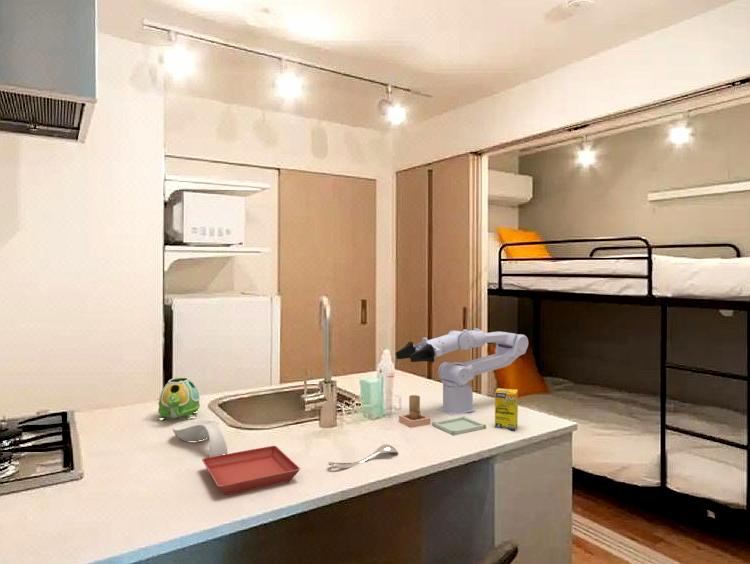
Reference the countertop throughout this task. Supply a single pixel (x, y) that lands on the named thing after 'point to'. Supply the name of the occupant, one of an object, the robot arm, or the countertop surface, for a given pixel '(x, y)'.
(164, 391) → the turtle holder
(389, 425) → the countertop surface
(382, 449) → the silver spork
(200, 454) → the countertop surface
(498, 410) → the supplement box
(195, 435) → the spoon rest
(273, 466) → the plant saucer
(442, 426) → the tray
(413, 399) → the dowel
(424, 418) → the tray
